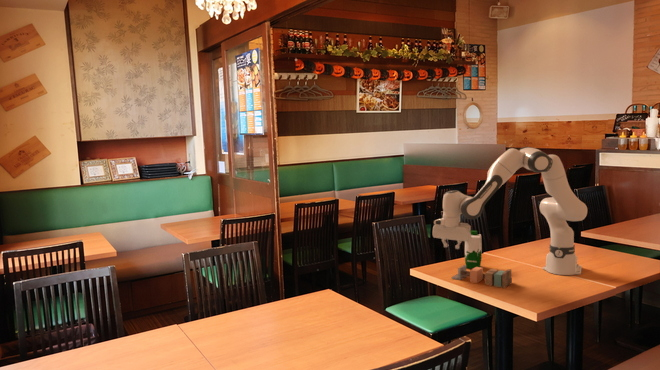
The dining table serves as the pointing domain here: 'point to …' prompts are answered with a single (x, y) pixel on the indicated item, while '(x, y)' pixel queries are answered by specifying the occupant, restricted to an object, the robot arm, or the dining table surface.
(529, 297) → the dining table surface
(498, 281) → the teal rectangular block
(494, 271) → the brown block
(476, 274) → the salmon pink block
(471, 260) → the milk carton
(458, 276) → the bookend
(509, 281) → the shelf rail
